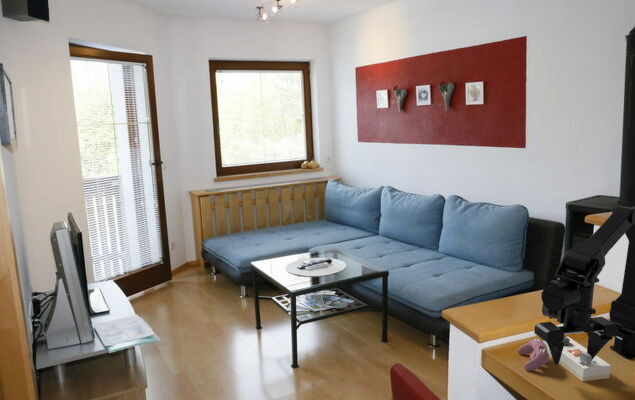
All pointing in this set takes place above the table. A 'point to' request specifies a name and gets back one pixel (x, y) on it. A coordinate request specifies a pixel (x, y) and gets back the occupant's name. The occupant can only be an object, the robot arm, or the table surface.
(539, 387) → the table surface
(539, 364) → the video game controller
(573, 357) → the switch panel
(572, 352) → the salmon orange button
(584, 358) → the slide switch
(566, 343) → the black button
